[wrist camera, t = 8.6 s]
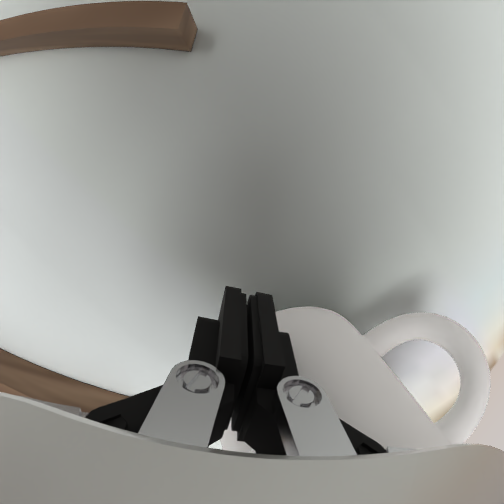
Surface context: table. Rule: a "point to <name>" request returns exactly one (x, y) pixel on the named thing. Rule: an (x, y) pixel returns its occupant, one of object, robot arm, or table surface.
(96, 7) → the open wooden rail frame
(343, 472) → the robot arm
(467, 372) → the mug
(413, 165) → the table surface
